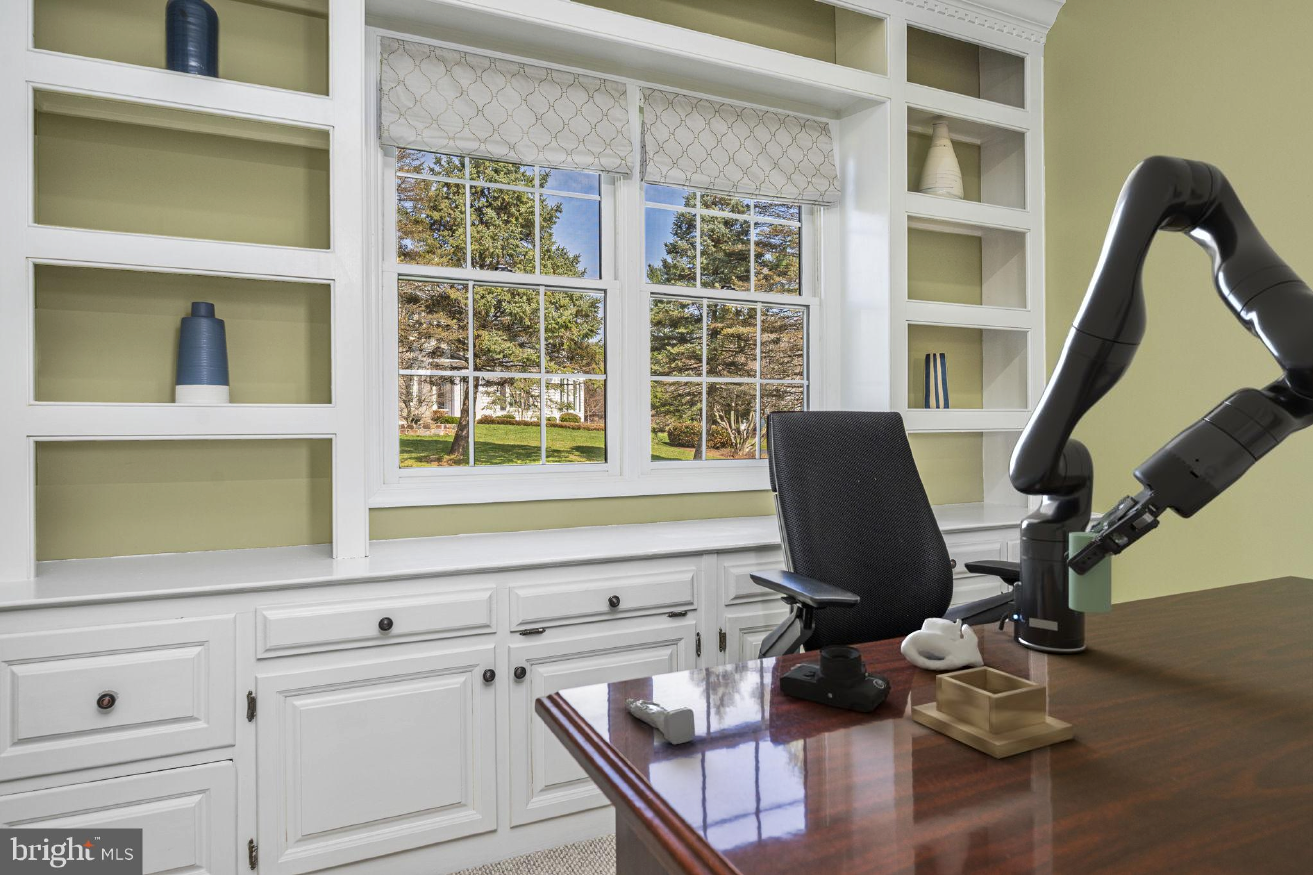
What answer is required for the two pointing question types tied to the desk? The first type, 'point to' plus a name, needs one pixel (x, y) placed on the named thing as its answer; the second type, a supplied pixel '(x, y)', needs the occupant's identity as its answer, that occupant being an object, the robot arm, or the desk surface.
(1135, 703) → the desk surface
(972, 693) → the display stand
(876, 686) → the film camera
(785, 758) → the desk surface
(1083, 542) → the green tall cylinder
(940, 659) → the white looped sculpture
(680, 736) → the figurine
